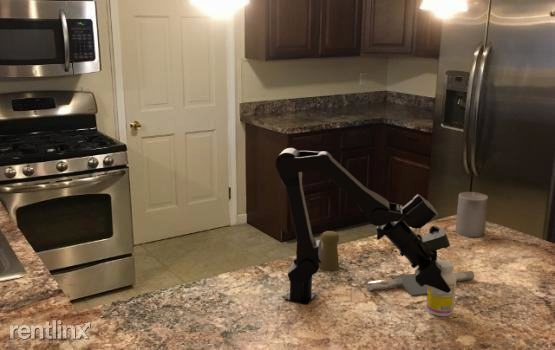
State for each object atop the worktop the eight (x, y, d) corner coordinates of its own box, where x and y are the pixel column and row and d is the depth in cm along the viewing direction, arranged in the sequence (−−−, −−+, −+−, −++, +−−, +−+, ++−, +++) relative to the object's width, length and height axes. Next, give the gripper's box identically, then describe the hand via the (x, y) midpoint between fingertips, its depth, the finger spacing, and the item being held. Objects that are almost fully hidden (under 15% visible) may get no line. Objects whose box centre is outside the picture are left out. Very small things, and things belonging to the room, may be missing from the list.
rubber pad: (411, 296, 148) (411, 294, 148) (391, 277, 159) (391, 276, 159) (451, 291, 151) (452, 290, 151) (429, 273, 163) (429, 272, 162)
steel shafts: (369, 292, 150) (369, 284, 150) (365, 288, 152) (366, 280, 152) (473, 280, 158) (474, 272, 158) (468, 277, 161) (469, 269, 160)
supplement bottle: (432, 302, 145) (436, 255, 142) (457, 310, 141) (462, 262, 138) (421, 311, 140) (425, 263, 137) (446, 320, 136) (451, 271, 133)
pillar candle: (464, 226, 204) (468, 186, 200) (489, 233, 196) (493, 192, 193) (449, 232, 198) (453, 191, 194) (474, 240, 190) (478, 197, 187)
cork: (340, 271, 163) (341, 236, 160) (319, 271, 163) (320, 235, 160) (338, 263, 169) (339, 229, 166) (318, 263, 169) (319, 228, 166)
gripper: (435, 232, 126) (480, 282, 127) (427, 208, 144) (468, 251, 145) (397, 262, 130) (442, 310, 131) (394, 234, 147) (434, 277, 148)
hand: (447, 285), depth 139 cm, fingers closed on supplement bottle, 7 cm apart
